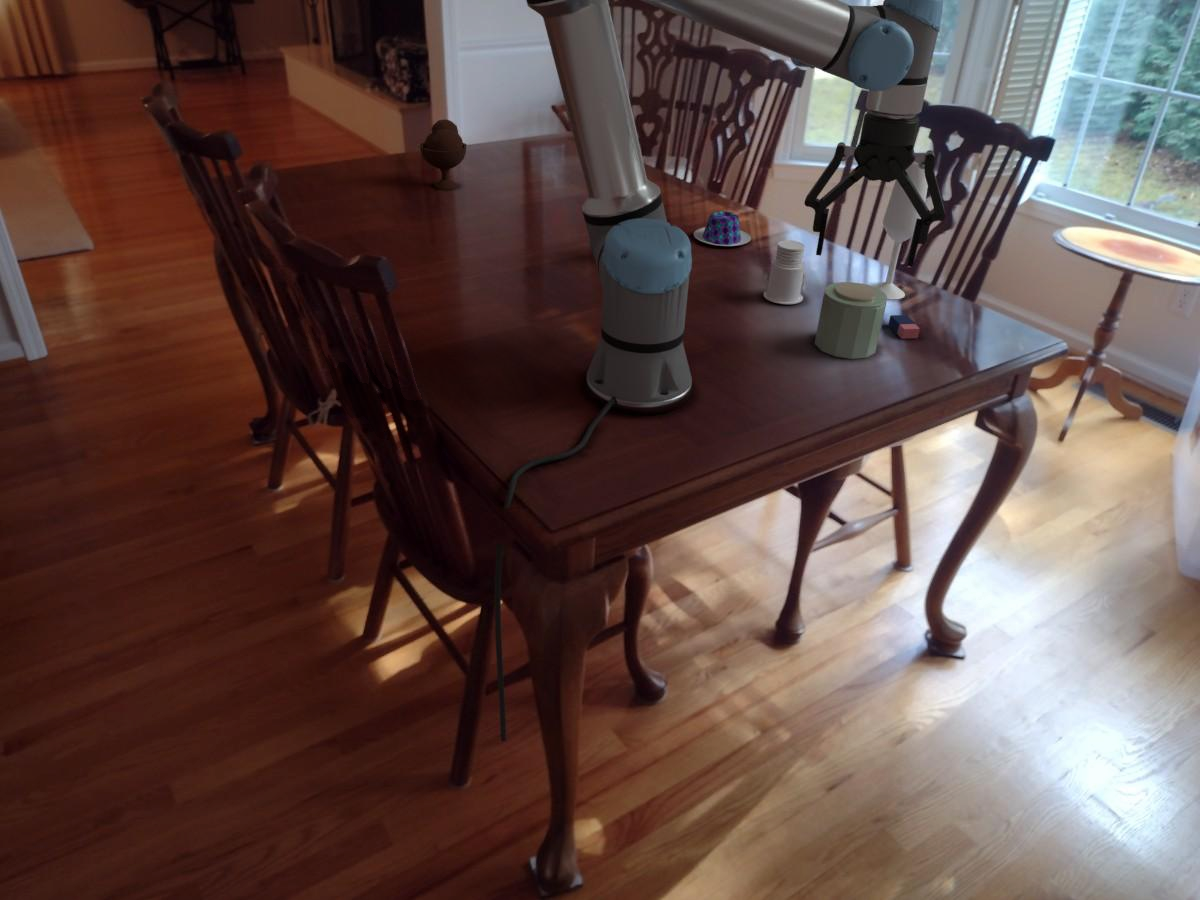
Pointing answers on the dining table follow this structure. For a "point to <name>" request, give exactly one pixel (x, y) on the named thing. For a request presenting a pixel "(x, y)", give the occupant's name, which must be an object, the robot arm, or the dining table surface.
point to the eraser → (903, 326)
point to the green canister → (850, 320)
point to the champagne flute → (901, 223)
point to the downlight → (786, 274)
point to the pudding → (722, 230)
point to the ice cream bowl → (444, 151)
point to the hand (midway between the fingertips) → (863, 258)
